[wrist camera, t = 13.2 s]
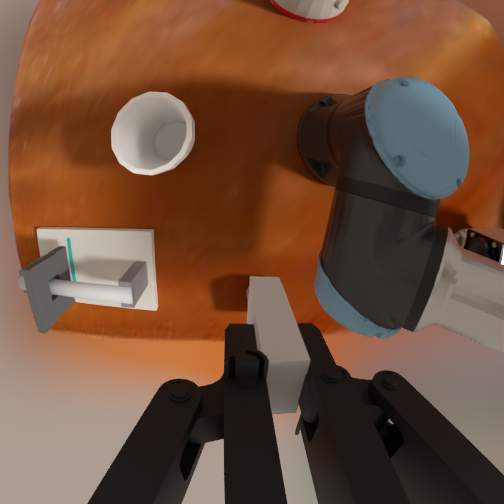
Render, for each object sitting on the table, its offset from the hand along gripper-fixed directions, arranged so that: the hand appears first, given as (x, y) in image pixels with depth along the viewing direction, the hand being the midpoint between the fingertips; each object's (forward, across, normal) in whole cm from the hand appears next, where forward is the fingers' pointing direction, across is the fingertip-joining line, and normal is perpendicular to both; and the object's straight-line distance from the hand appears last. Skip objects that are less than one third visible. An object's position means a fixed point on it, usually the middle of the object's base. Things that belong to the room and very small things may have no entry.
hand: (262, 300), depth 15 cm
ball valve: (+30, +48, -2) cm, 56 cm away
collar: (+25, -29, -11) cm, 40 cm away
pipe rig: (+29, -26, -11) cm, 41 cm away
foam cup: (+30, -11, +10) cm, 33 cm away
